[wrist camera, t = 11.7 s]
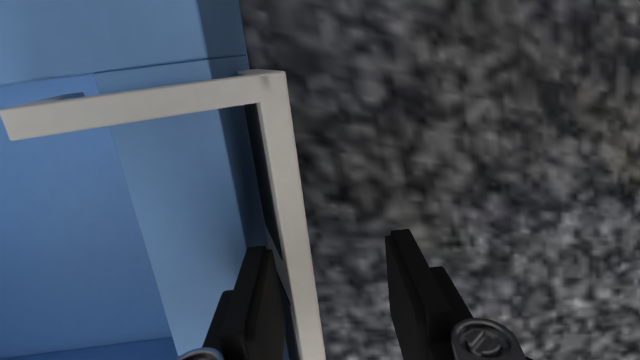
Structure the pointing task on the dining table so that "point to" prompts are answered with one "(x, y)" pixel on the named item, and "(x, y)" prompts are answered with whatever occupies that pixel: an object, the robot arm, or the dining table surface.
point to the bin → (121, 182)
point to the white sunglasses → (268, 159)
